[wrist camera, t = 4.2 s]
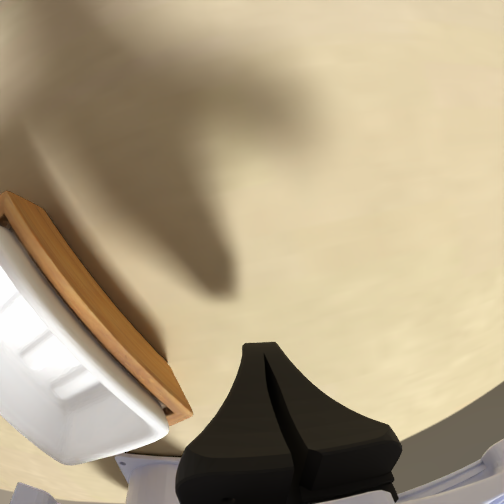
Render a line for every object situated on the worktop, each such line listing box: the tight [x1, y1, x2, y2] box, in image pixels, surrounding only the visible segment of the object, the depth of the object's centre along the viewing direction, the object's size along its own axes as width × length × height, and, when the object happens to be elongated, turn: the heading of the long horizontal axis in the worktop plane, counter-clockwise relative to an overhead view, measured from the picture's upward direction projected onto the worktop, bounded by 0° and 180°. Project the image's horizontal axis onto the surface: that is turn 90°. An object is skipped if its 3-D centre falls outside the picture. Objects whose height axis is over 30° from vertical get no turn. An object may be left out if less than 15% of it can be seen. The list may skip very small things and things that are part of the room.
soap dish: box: [0, 190, 193, 465], centre depth 12 cm, size 12×10×5 cm
